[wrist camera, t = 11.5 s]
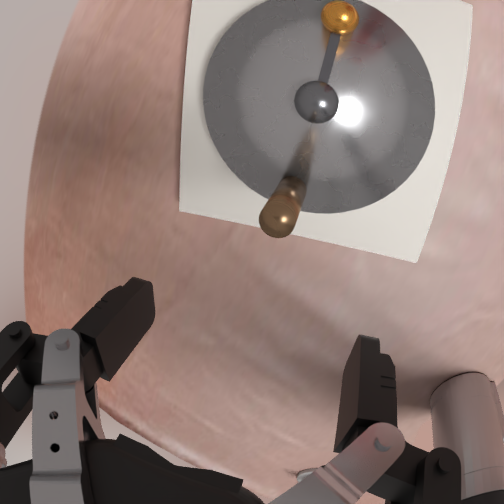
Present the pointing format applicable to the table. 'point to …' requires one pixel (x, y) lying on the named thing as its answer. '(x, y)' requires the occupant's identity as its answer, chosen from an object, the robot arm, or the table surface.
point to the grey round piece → (318, 106)
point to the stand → (351, 222)
